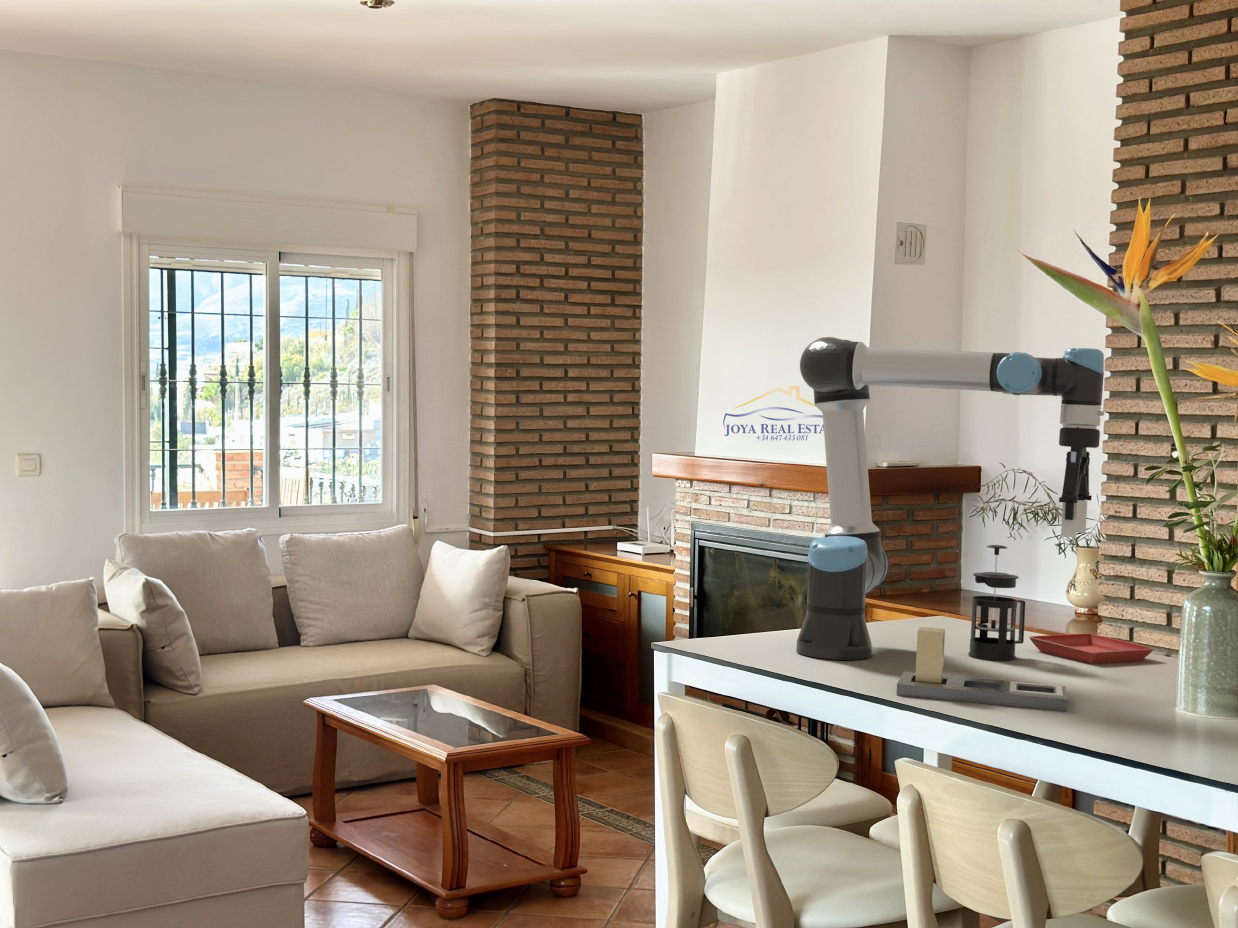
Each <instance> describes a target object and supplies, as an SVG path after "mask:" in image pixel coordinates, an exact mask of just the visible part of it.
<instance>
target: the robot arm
mask: <svg viewBox="0 0 1238 928" xmlns="http://www.w3.org/2000/svg"><path fill="white" fill-rule="evenodd" d="M1104 363H1105V354H1104V352H1103V351H1102V350H1100V349H1098V348H1089V347H1088V348H1086V347H1069V348H1066V349H1065V350H1064V354H1063V356H1062V357H1056V358H1055V357H1054V358H1053V357H1052V358H1049V357H1035V356H1033V355H1031V354H1029V353H1027V352H1018V351H1017V352H1012V353H1009V352H1008V353H1007V352H992V351H991V352H990V351H988V352H987V351H965V350H940V349H920V348H918V349H917V348H895V347H893V348H892V347H869V346H867V345H866V343H864V342H862V341H854V340H853V341H852V340H850V339H841V338H837V337H833V336H826V337H825V336H824V337H820V338H817V339H815V340H814V341H813V340H812V342H810V343H809V344H808V345H807V346H806V347H805V348H804V350H803V352H802V354H801V357H800V360H799V371H800V374H801V376H802V380H803V381H804V383H806V384H807V386H809V388H811V389H813V398H814V401H813V402H814V403H813V404H814V406H815V407H816V408H817V409H818V410H820V412H821V414H822V423H823V424H822V425H823V435H824V436H823V438H824V450H825V463H826V475H827V489H828V502H829V514H830V516H829V517H830V526H829V527H828V528H827V529H826V531H825V532H824V536H821V537H818V538H815V539H814V540H813V541H811V543H810V545H809V550H808V553H807V561H808V562H807V563H808V566H807V567H808V568H807V571H808V572H807V573H808V574H807V592H806V596H807V597H806V615H805V617H804V620H803V622H802V626H801V628H800V631H799V632H798V633H799V634H798V636H797V639H796V647H795V649H796V650H795V651H796V653H798V654H800V655H803V656H806V657H811V658H818V659H824V660H837V661H839V660H843V661H847V660H848V661H849V660H850V661H854V660H856V661H857V660H864V659H865V660H866V659H869V658H871V657H872V655H873V643H872V640H871V636H870V633H869V630H868V626H867V622H866V619H865V611H866V610H865V609H866V608H865V607H866V594H869V593H871V592H872V591H875V589H877V587H879V585H881V583H882V582H883V581H884V580H885V577H886V575H887V572H888V566H889V565H888V564H889V563H888V557H887V555H886V554H887V553H886V552H885V549H884V548H883V547H882V542H881V541H882V539H881V530H880V528H879V527H878V526H877V525H875V524H874V522H873V520H872V519H873V518H872V505H871V493H870V482H869V481H870V480H869V478H870V477H869V469H868V467H869V466H868V455H867V443H866V440H867V439H866V428H865V417H864V416H865V414H864V409H865V408H866V406H867V405H868V404H869V403H870V401H871V398H870V397H871V395H870V386H877V387H879V386H880V387H898V388H899V387H901V388H915V389H916V388H917V389H918V388H920V389H921V388H922V389H937V390H940V389H941V390H957V391H959V390H961V391H977V392H978V391H980V392H995V393H1003V394H1005V395H1013V396H1021V395H1022V396H1052V397H1058V396H1059V397H1061V403H1060V417H1059V424H1060V425H1062V427H1060V429H1059V437H1058V445H1059V446H1060V447H1068V448H1069V447H1070V451H1067V452H1066V459H1065V463H1066V464H1065V470H1064V471H1065V472H1064V479H1063V487H1062V493H1061V495H1060V496H1061V497H1059V498H1058V502H1059V503H1062V512H1061V513H1062V514H1061V527H1060V528H1061V530H1060V537H1065V538H1075V539H1076V538H1077V533H1080V534H1086V533H1087V531H1086V530H1087V517H1088V516H1087V514H1088V513H1087V512H1088V501H1092V495H1090V478H1089V477H1090V462H1091V459H1090V455H1091V453H1090V451H1088V450H1087V448H1089V449H1097V448H1099V447H1100V439H1101V438H1100V436H1101V431H1100V429H1097V427H1099V426H1101V417H1103V416H1105V411H1104V410H1102V401H1103V389H1104V387H1103V386H1104V376H1105V371H1104V370H1105V367H1104V366H1105V364H1104Z"/></svg>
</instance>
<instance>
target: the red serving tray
mask: <svg viewBox="0 0 1238 928" xmlns="http://www.w3.org/2000/svg"><path fill="white" fill-rule="evenodd" d="M1028 638H1029V640H1030V642H1032V644H1033V645H1034V646H1035V648H1037V650H1038V651H1039V652H1040V653H1044V654H1048V655H1053V656H1057V657H1061V658H1065V659H1069V660H1073V661H1077V662H1081V663H1086V664H1091V665H1092V664H1093V665H1095V664H1108V663H1110V664H1111V663H1122V662H1124V663H1125V662H1138V661H1139V662H1140V661H1143V660H1144V659H1145V658H1146V657H1148V656H1149V655H1150V654H1151V653H1153V651H1154V649H1155V648H1154V647H1150V646H1146V645H1141V644H1137V643H1133V642H1129V641H1125V640H1121V639H1116V638H1112V637H1107V636H1103V635H1099V634H1093V633H1074V634H1073V633H1070V634H1052V635H1050V634H1049V635H1048V634H1047V635H1031V636H1030V635H1029V636H1028Z"/></svg>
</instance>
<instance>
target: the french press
mask: <svg viewBox="0 0 1238 928" xmlns="http://www.w3.org/2000/svg"><path fill="white" fill-rule="evenodd" d="M985 547H986V548H990V549H994V556H995V561H994V563H995V564H994V565H995V566H994V571H983V572H974V573H973V574H972V576H973V577H974V580H975V583H976V584H985V585H986V586H987V587H989V588H993V595H975V596H974V595H973V596H972V597H971V625H970V626H971V628H970V639H969V651H968V656H969V657H970V658H973V659H978V660H982V661H993V662H1011V661H1014V660H1016V659H1017V656H1016V644H1023V643H1024V638H1025V616H1026V601H1025V600H1023V599H1016V598H1012V597H1006V596H996V595H997V588H999V589H1014V588H1016V587H1017V580H1018V579H1019V576H1018V575H1015V574H1010V573H1005V572H997V571H998V556H999V555H1000V549H1002V550H1005V549H1008V548H1009V547H1007V546H1005V545H1000V544H989V545H986V546H985ZM1018 603H1019V620H1018V621H1019V622H1018V640H1016V620H1017V618H1016V617H1017V607H1018ZM977 607H980V617H979V618H980V619H979V622H977ZM990 609H992V611H993V612H992V619H991V621H990V622H989V614H990V613H989V612H990ZM996 609H999V615H998V616H999V618H998V619H999V620H998V623H997V621H996V619H995V617H996ZM1009 609H1010V610H1011V611H1010V624H1008V620H1009V619H1008V617H1009ZM976 630H978V631H979V636H976V632H977V631H976ZM988 632H992V633H993V632H995V633H998V637H991V636H988V634H989V633H988ZM1008 633H1010V634H1009V639H1007V637H1008V636H1007V635H1008Z"/></svg>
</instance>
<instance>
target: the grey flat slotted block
mask: <svg viewBox="0 0 1238 928" xmlns="http://www.w3.org/2000/svg"><path fill="white" fill-rule="evenodd" d="M915 677H916V672H911V671H903V672H902V673H901V675H900V678H899V679H898V681H897V683H896V696H900V697H901V696H903V697H912V698H923V699H924V698H925V699H931V700H932V699H933V700H943V701H954V702H966V703H973V704H974V703H975V704H985V705H996V706H1007V707H1017V708H1027V709H1038V710H1049V711H1061V712H1068V695H1067V694H1068V693H1067V687H1066V686H1065V685H1057V684H1045V683H1034V682H1033V683H1032V682H1022V681H1012V680H1011V681H1010V680H1002V679H990V678H989V679H987V678H977V677H966V676H955V675H944V674H943V684H942V685H941V684H930V683H919V682H915Z"/></svg>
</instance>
